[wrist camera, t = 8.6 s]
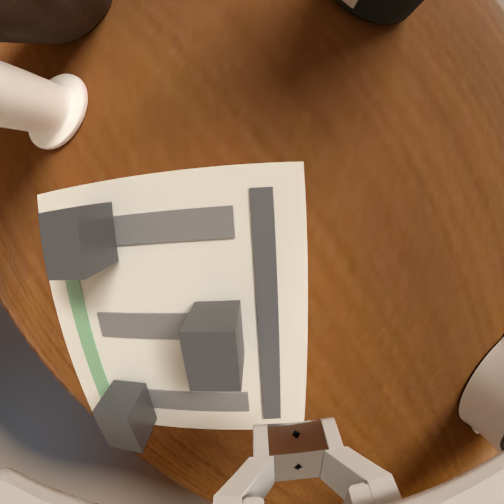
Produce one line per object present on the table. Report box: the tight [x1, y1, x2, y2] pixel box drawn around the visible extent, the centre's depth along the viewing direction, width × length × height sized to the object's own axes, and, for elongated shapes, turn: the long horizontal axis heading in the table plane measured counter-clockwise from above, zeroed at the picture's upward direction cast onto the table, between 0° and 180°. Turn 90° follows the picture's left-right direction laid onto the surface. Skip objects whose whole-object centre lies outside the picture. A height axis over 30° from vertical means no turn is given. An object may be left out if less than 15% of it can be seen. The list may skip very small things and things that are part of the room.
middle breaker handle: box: [178, 300, 245, 392], centre depth 17 cm, size 3×4×4 cm
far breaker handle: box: [92, 380, 157, 453], centre depth 19 cm, size 3×4×4 cm
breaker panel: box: [37, 162, 308, 430], centre depth 21 cm, size 20×21×3 cm
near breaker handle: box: [38, 202, 119, 280], centre depth 16 cm, size 3×4×4 cm
